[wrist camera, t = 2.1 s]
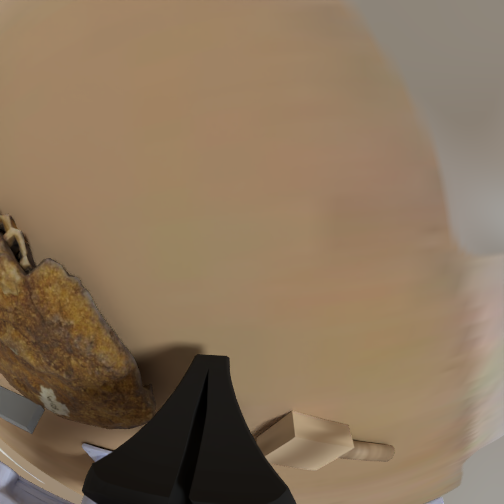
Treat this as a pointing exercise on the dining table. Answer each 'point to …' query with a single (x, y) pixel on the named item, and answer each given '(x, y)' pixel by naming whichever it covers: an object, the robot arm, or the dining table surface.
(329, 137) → the dining table surface
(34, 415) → the grey bracket
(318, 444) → the wooden mallet
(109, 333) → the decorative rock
